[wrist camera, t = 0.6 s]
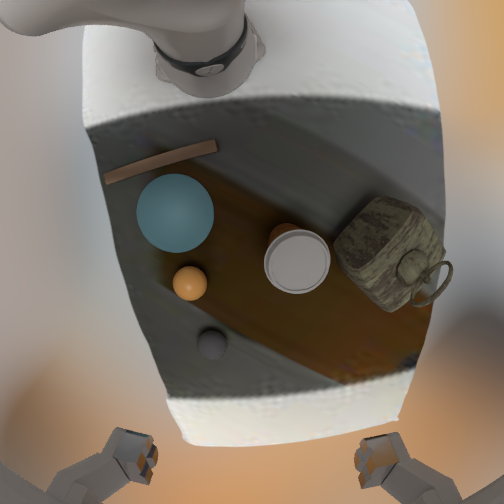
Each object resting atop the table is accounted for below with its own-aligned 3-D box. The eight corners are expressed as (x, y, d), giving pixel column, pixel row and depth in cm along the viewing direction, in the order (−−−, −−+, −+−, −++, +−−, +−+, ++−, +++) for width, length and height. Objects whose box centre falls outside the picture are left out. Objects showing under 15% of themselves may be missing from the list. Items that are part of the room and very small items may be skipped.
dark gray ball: (195, 327, 54) (190, 345, 48) (223, 322, 54) (221, 340, 48) (203, 349, 56) (200, 367, 50) (230, 345, 56) (230, 363, 50)
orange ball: (172, 264, 49) (164, 278, 44) (203, 258, 49) (198, 271, 44) (182, 293, 51) (176, 309, 46) (212, 287, 51) (209, 303, 45)
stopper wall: (109, 172, 43) (103, 174, 41) (216, 140, 42) (214, 138, 40) (112, 183, 44) (106, 184, 42) (218, 151, 43) (217, 151, 41)
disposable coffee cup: (300, 204, 47) (318, 220, 35) (320, 251, 50) (341, 279, 38) (250, 228, 48) (252, 251, 36) (272, 273, 51) (281, 307, 39)
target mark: (128, 186, 44) (127, 186, 44) (203, 164, 44) (202, 164, 44) (150, 259, 49) (149, 259, 49) (222, 242, 48) (222, 243, 48)
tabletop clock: (347, 272, 51) (411, 352, 28) (317, 242, 49) (376, 316, 25) (397, 218, 48) (486, 267, 24) (370, 185, 46) (464, 216, 22)
